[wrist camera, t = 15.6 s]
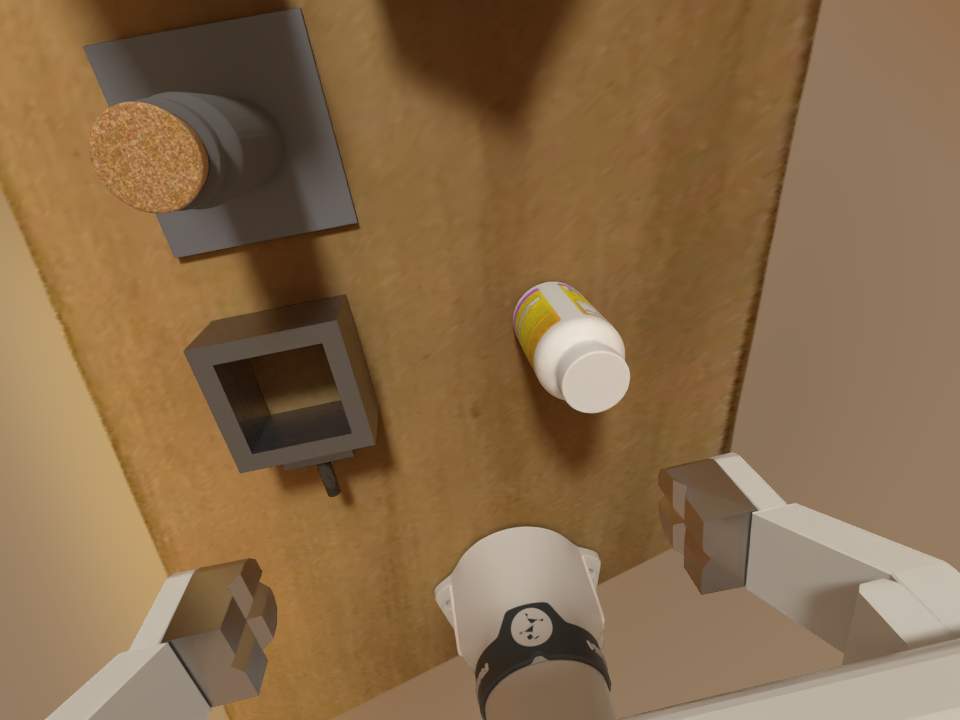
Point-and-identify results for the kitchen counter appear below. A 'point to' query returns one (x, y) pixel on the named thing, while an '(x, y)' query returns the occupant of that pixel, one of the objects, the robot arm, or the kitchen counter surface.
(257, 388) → the frame
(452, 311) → the kitchen counter surface
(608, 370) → the supplement bottle
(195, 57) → the pad
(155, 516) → the kitchen counter surface
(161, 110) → the bottle
